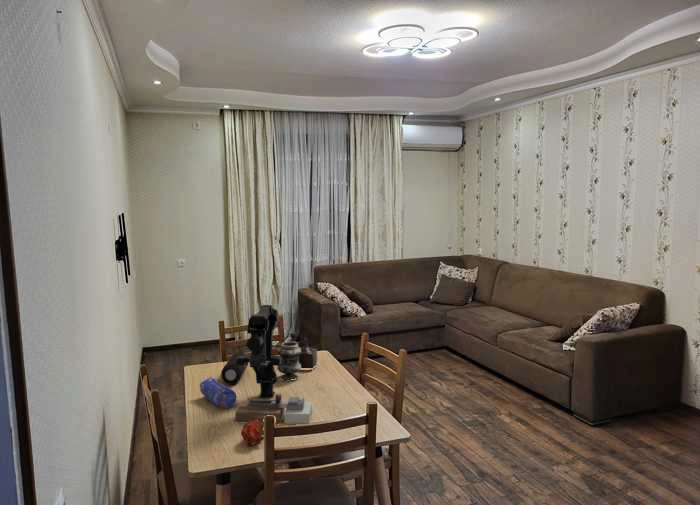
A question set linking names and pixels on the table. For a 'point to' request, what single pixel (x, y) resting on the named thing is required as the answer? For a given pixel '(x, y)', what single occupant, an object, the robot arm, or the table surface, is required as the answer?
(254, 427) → the dragon fruit
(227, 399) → the pencil case
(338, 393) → the table surface
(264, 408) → the door board
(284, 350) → the apothecary jar
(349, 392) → the table surface
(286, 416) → the block
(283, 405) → the lock bolt
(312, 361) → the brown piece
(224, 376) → the portable speaker
